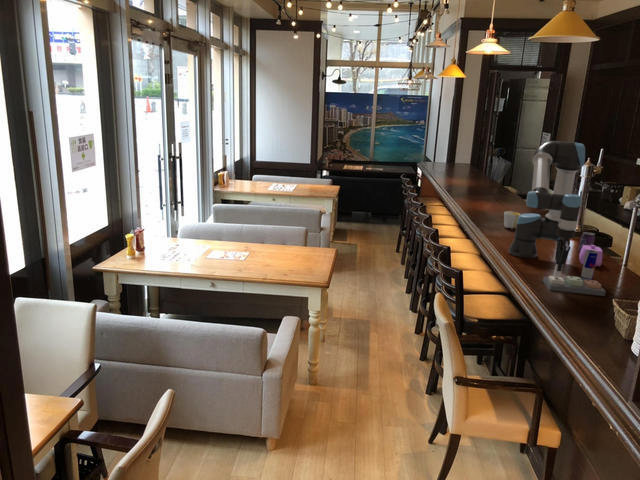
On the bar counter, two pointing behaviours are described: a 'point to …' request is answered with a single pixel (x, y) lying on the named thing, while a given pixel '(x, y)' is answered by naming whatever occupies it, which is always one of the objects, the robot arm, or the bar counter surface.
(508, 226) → the mug
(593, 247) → the teapot
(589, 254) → the grey blue tall box
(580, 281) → the tile
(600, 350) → the bar counter surface
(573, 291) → the board
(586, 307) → the bar counter surface
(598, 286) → the tile
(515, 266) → the bar counter surface
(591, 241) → the beverage can
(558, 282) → the tile
